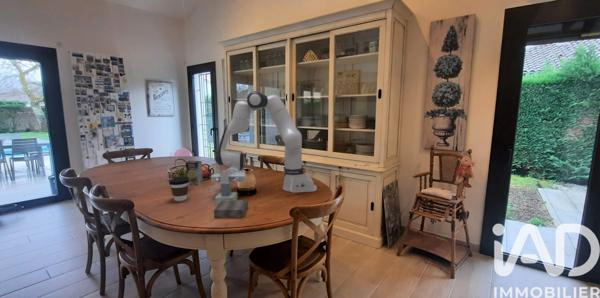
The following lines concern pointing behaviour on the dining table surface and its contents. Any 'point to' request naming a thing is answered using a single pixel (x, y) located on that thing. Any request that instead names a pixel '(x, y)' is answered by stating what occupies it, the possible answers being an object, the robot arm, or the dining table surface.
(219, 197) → the stand
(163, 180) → the dining table surface
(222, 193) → the housing
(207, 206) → the dining table surface
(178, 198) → the coffee cup
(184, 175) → the house plant
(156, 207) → the dining table surface
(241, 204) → the stand
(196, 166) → the coffee box
